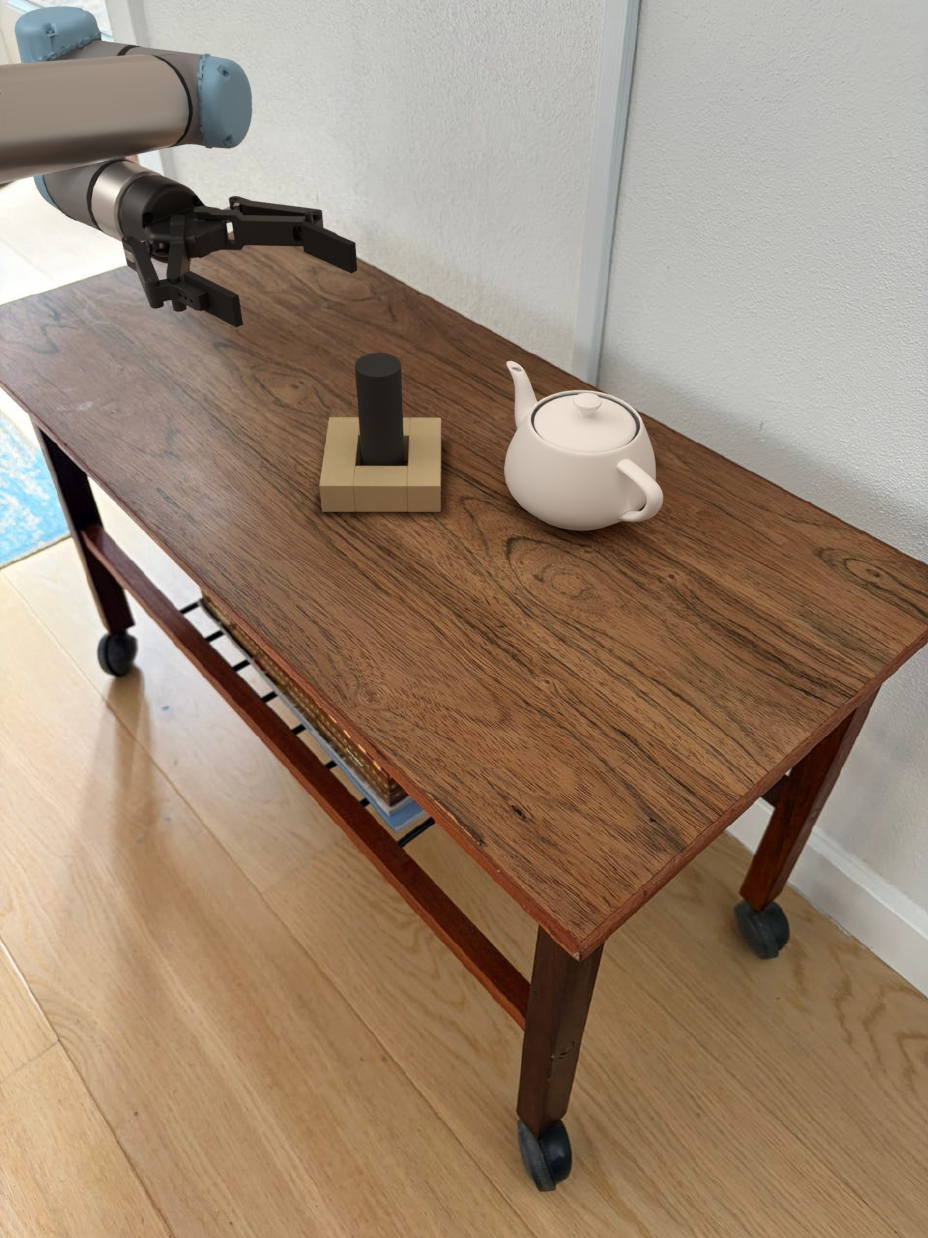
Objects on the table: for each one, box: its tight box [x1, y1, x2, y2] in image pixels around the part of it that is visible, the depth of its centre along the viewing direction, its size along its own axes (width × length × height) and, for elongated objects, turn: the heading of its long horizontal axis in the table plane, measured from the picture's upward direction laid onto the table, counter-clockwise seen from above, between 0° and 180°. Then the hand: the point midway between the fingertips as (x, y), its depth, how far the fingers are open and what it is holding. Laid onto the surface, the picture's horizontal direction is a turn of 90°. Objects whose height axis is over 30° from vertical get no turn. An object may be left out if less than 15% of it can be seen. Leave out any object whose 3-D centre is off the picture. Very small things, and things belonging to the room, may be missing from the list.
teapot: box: [503, 360, 664, 532], centre depth 91 cm, size 22×14×11 cm, turn 33°
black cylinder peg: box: [354, 352, 406, 466], centre depth 93 cm, size 4×4×12 cm
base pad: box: [318, 416, 442, 513], centre depth 96 cm, size 11×11×3 cm
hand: (298, 283), depth 90 cm, fingers open, 13 cm apart
